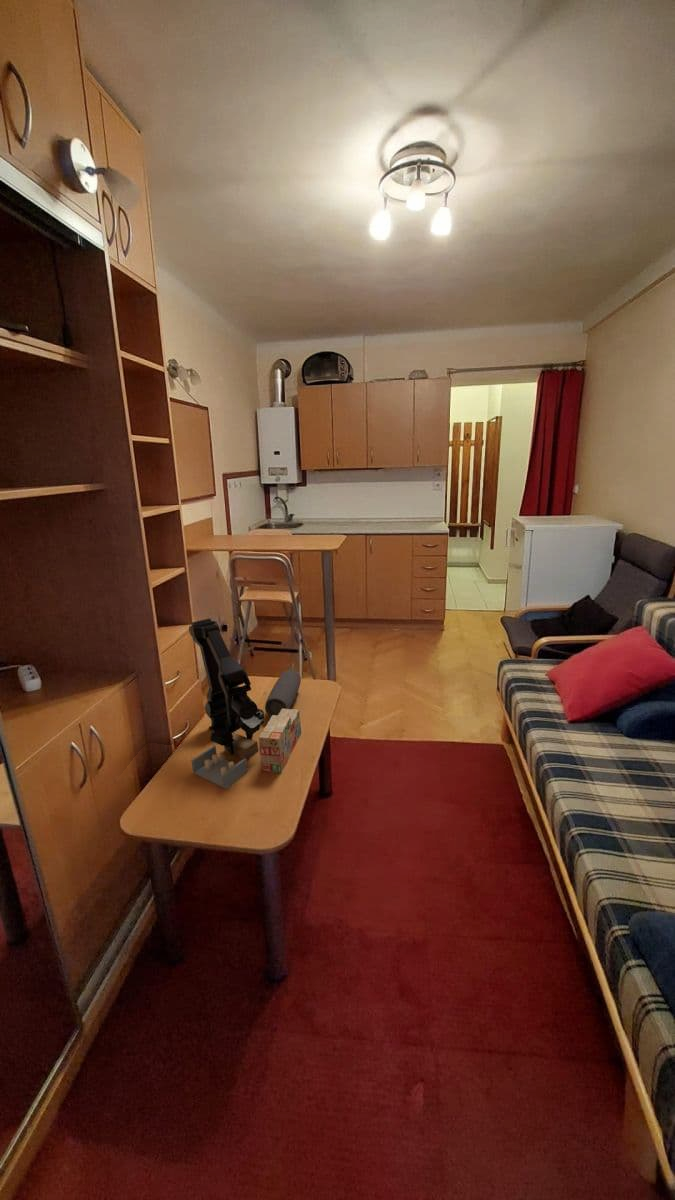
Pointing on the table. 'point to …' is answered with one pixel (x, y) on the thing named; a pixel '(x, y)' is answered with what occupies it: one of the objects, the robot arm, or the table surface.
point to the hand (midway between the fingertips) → (240, 748)
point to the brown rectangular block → (244, 746)
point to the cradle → (218, 768)
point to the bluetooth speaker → (283, 692)
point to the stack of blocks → (279, 740)
